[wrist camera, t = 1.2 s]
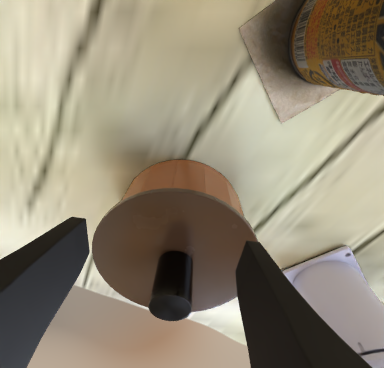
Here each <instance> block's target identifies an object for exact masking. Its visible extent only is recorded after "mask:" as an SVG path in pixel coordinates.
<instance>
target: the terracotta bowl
mask: <svg viewBox="0 0 384 368" xmlns="http://www.w3.org/2000/svg"><path fill="white" fill-rule="evenodd" d="M161 188H181V189H190V190H195V191H199V192H203V193H206V194H209V195H212V196H214V197H216V198H218V199H220V200H222V201H224V202H226V203H227V204H229V205H230V206H232V207H234V208H235V209H236V210H237V211H238V212H239V213H241V214H242V215H243V212H242V208H241V205H240V202H239V198H238V195H237V194H236V192H235V190H234V189H233V187H232V185H231V184H230V183H229V181H228V180H227V179H226V178H225V177H224V176H223V175H222V174H221V173H219V172H218V171H216V170H215V169H213V168H211V167H209V166H207V165H205V164H202V163H199V162H195V161H191V160H169V161H164V162H161V163H157V164H155V165H153V166H151V167H149V168H147V169H145V170H144V171H143V172H142V173H140V174H139V175H138V176H137V177H136V178H135V179H134V180H133V181H132V183H131V185H130V187H129V188H128V190H127V192H126V193H125V195H124V197H123V198H122V200H124V199H126V198H128V197H130V196H132V195H135V194H138V193H140V192H144V191H148V190H153V189H161ZM122 200H121V201H122ZM243 216H244V215H243Z"/></svg>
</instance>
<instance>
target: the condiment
mask: <svg viewBox="0 0 384 368" xmlns="http://www.w3.org/2000/svg"><path fill="white" fill-rule="evenodd" d="M239 30H240V33H241V35H242V37H243V39H244V42H245V44H246V47H247V49H248V51H249V53H250V56H251V58H252V60H253V62H254V64H255V67H256V69H257V71H258V73H259V76H260V78H261V80H262V82H263V84H264V87H265V89H266V91H267V93H268V95H269V97H270V99H271V102H272V104H273V106H274V109H275V110H276V113H277V115H278V117H279V119H280V121H281V123H283V122H285V121H287V120H288V119H290V118H292V117H294V116H295V115H297V114H299V113H300V112H302V111H304V110H306V109H308V108H309V107H311V106H312V105H314V104H316V103H318V102H320V101H322V100H323V99H325V98H326V97H328V96H330V95H331V94H333V93H335V92H336V91H338V90H340V89H347V90H352V91H357V92H360V93H370V94H373V95H383V96H384V0H276V1H274V2H273V3H272V4H270V5H269V6H268V7H266V8H265V9H264V10H262V11H261V12H260V13H258V14H257V15H256V16H255V17H253V18H252V19H250V20H249V21H248V22H246V23H245V24H244V25H242V26H241V27H240V28H239Z"/></svg>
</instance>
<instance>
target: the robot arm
mask: <svg viewBox="0 0 384 368" xmlns="http://www.w3.org/2000/svg"><path fill="white" fill-rule="evenodd" d="M88 255H89V243H88V235H87V226H86V219H84V218H77V217H71V218H69V219H67V220H65V221H64V222H62V223H61V224H59V225H57V226H56V227H54V228H53V229H51V230H49V231H48V232H46V233H45V234H43V235H41V236H40V237H38V238H36V239H35V240H33V241H32V242H30V243H28V244H27V245H25V246H23V247H22V248H20V249H18V250H17V251H15V252H13V253H11V254H9V255H8V256H6V257H4V258H2V259H1V260H0V368H27V366H28V364H29V362H30V360H31V358H32V356H33V354H34V352H35V349H36V348H37V346H38V344H39V342H40V340H41V338H42V336H43V334H44V333H45V331H46V329H47V327H48V326H49V324H50V322H51V321H52V319H53V318H54V316H55V314H56V313H57V311H58V309H59V308H60V306H61V304H62V303H63V301H64V299H65V298H66V296H67V295H68V293H69V291H70V289H71V288H72V286H73V285H74V283H75V281H76V280H77V278H78V276H79V274H80V272H81V270H82V268H83V266H84V264H85V262H86V259H87V257H88ZM235 273H236V287H237V296H238V301H239V306H240V311H241V316H242V321H243V326H244V331H245V336H246V341H247V346H248V351H249V358H250V364H251V368H384V305H383V303H382V302H381V301H380V300H379V298H378V297H377V296H376V294H375V293H374V292H373V291H372V289H371V288H370V287H369V285H368V283H367V281H366V279H365V277H364V275H363V273H362V271H361V269H360V267H359V265H358V263H357V261H356V259H355V257H354V255H353V253H352V251H351V249H350V248H349V247H348V246H344V247H341V248H338V249H336V250H333V251H331V252H328V253H326V254H323V255H321V256H318V257H316V258H313V259H311V260H308V261H306V262H303V263H301V264H299V265H296V266H294V267H291V268H289V269H286V270H284V271H281V270H280V268H279V267H278V266H277V264H276V263H275V262H274V261H273V259H272V258H271V257H270V255H269V254H268V253H267V251H266V250H265V249H264V247H263V246H262V245H261V243H260V242H255V241H247V240H246V243H245V245H244V248H243V251H242V254H241V257H240V259H239V262H238V265H237V268H236V271H235Z"/></svg>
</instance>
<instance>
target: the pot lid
mask: <svg viewBox="0 0 384 368" xmlns="http://www.w3.org/2000/svg"><path fill="white" fill-rule="evenodd" d="M246 240H247V241H255V242H258V241H257V238H256V235H255V233H254V230H253V229H252V227H251V226H250V224H249V222H248V221H247V220H246V219H245V218H244V216H243V215H242V214H241V213H239V212H238V211H237V210H236V209H235V208H234V207H232V206H230V205H229V204H227V203H226V202H224V201H222V200H220V199H218V198H216V197H214V196H212V195H209V194H206V193H203V192H199V191H195V190H190V189H181V188H161V189H153V190H148V191H144V192H140V193H138V194H135V195H132V196H130V197H128V198H126V199H124V200H122V201H121V202H119V203H118V204H116V205H115V206H114V207H112V208H111V209H110V210H109V211H108V212H107V213H106V215H105V216H104V217H103V219H102V220H101V222H100V223H99V225H98V226H97V229H96V231H95V233H94V237H93V242H92V253H93V259H94V262H95V265H96V267H97V269H98V271H99V273H100V275H101V276H102V277H103V279H104V280H105V281H106V282H107V283H108V284H109V285H110V286H111V287H112V288H113V289H114V290H115V291H116V292H118V293H119V294H121V295H122V296H124V297H125V298H127V299H129V300H131V301H133V302H135V303H137V304H140V305H142V306H145V307H148V308H149V310H150V312H151V313H152V314H153V315H154V316H155V317H157V318H159V319H162V320H166V321H178V320H182V319H185V318H186V317H188V316H189V315H190V313H191V312H196V311H202V310H207V309H211V308H214V307H217V306H220V305H222V304H225V303H227V302H229V301H230V300H232V299H234V298H235V297H237V287H236V273H235V271H236V268H237V265H238V262H239V259H240V257H241V254H242V251H243V248H244V245H245V243H246Z"/></svg>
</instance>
